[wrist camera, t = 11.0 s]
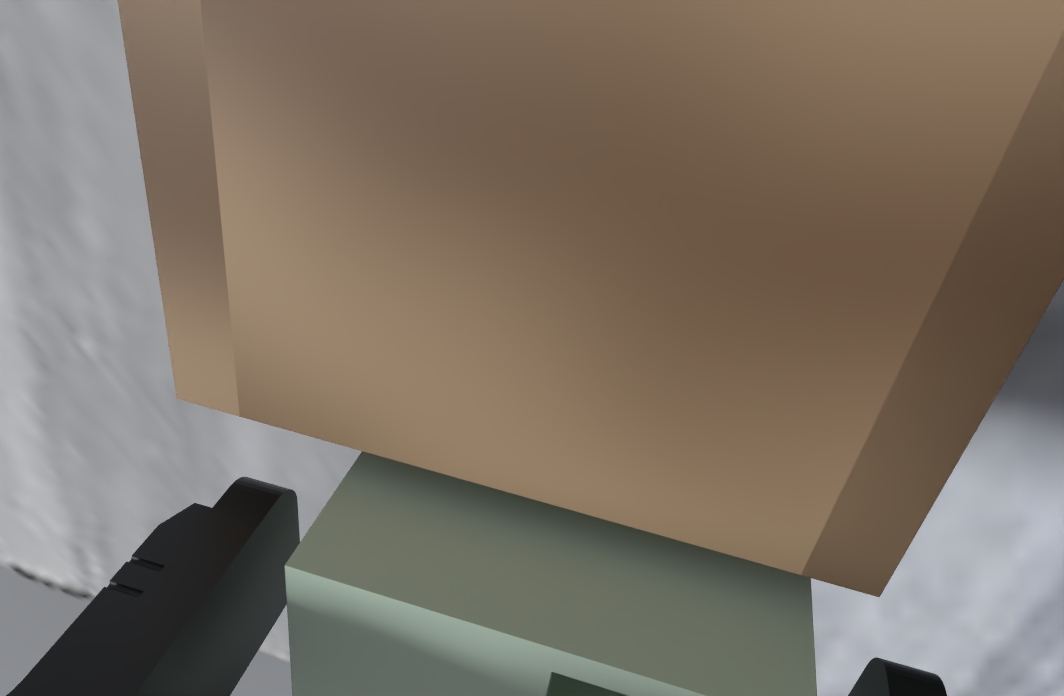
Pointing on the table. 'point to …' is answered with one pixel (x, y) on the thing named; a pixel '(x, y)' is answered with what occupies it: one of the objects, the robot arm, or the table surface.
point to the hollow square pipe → (527, 601)
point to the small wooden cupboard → (615, 244)
